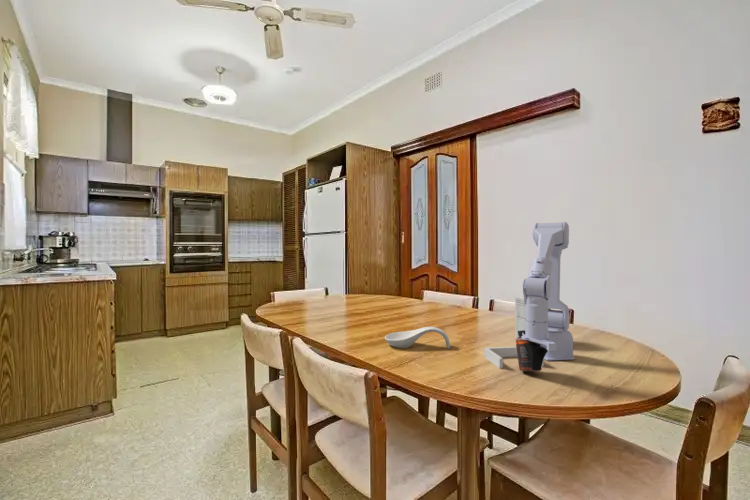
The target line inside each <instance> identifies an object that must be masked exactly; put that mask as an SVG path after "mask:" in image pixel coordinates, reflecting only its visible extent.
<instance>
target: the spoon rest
mask: <svg viewBox="0 0 750 500" xmlns="http://www.w3.org/2000/svg"><path fill="white" fill-rule="evenodd" d="M430 332H431V333H432V332H433V333H437V334H439V335H440V336H442V337H443V339H444V342H445V345H446V349H448V350H449V349H451V344H450V343H451V342H450V339H449V336H448V334H447V333H446V331H444V330H443V329H441V328H439V327H435V326H425V327H420V328H417V329H412V330H408V331H407V330H405V331H396V332H391V333H388V334H386V335H385V336H384V340H385V342H387V344H389V345H390V346H391V347H394V348H398V349H407V348H410V347H411V346H412V345H414V343H416V341H418V339H419V338H421V337H423V335H425V334H427V333H430Z"/></svg>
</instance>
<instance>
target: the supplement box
mask: <svg viewBox="0 0 750 500" xmlns="http://www.w3.org/2000/svg"><path fill="white" fill-rule="evenodd" d="M525 309H526V304H525V303H524V295H523V296H515V297H514V316H515V318H514V319H515V320H514V322H515V323H514V331H515V332H514V333H515V334H514V337H515V338H514V339H515V340H516V339H517V338H518V337H519V335H518V331H520V330H525ZM548 309H549V310H552V309H551V308H548Z"/></svg>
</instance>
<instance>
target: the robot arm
mask: <svg viewBox="0 0 750 500" xmlns="http://www.w3.org/2000/svg"><path fill="white" fill-rule="evenodd" d="M569 227H570V226H569V224H568V222H566V221H564V222H542V223H541V222H536V223H534V224H533V227H532V239H533V241H534V243H535V245H536V246H537V251H536V257H534V258H533V259H531V262H530V267H529V271H528V274H527V278H524V279H523V282H522V294H523V296H524V303H525V304H526V309H525V335H524V333H522V339H523V340H529V342H528V343H524V346H525V348H526V350H527V352H528V355H529V358H530V362H531V367H532V370H541V371H542V369H541V368H542V367H541V366H542V362H543V359H544V361H550V362H551V361H571V360H575V357H574V338H573V335H572V333H571V332H570V330H569V329H570V320H571V319H570V318H571V317H570V308H569V306H568V305H567V304H566V303H565V302H563V301H562V300H561V299H560V298H561V297H560V293H561V292H560V290H561V258H562V256H561V255H562V252H563V250H565V249H568V248H569V243H570V242H569V241H570V228H569ZM548 308H551V310H549V309H548Z"/></svg>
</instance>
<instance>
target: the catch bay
mask: <svg viewBox="0 0 750 500" xmlns="http://www.w3.org/2000/svg"><path fill="white" fill-rule="evenodd" d="M483 350H484V351H483V358H485V359H486V360H488V362H490V363H491V364H493V365H494V366H496V367H497V368H498V369H503V368H504V358H513V357H514V358H515V357H516V358H518V356H517V348H516V346H501V347H500V346H498V347H497V346H496V347H484V348H483ZM544 366H545V359H543V362H542V366H541V368H544Z"/></svg>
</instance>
